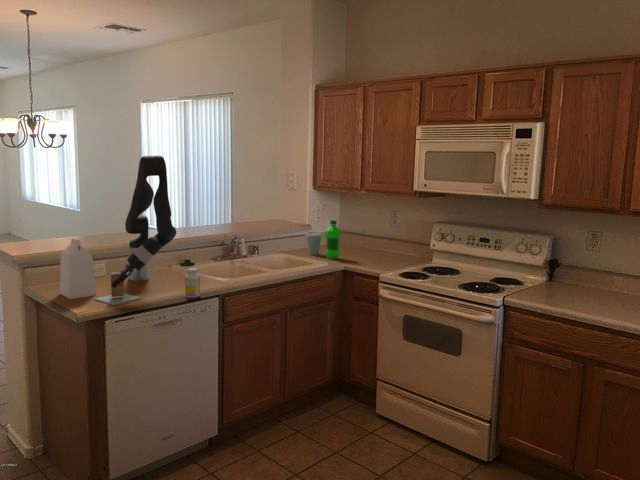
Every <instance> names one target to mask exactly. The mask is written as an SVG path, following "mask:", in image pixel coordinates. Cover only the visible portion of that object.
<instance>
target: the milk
mask: <svg viewBox="0 0 640 480" xmlns="http://www.w3.org/2000/svg"><path fill="white" fill-rule="evenodd" d="M70 242H71V243H70V244H69V245H68V246H67V247H65V249H63V251H62V252H61V253H60V259H59V260H60V261H59V262H60V264H59V265H60V266H59V268H60V269H59V270H60V271H59V282H60V283H59V294H60V295H62V296H63V297H65V298H67V299H69V300H72V299H80V298H85V297H92V296H96V293H97V292H96V282H95V271H94V270H95V269H94V260H93V259H94V258H93V257H94V256H93V255H92V253H91V252H90V251H88V250H87V247H85V246H84V245H83V244H82V243H81V239H79V238H77V237H71V241H70Z"/></svg>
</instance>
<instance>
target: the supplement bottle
mask: <svg viewBox="0 0 640 480" xmlns="http://www.w3.org/2000/svg"><path fill="white" fill-rule="evenodd" d="M186 273H187V274H186V275H184V295H185V296H184V297H187V298H191V299H192V298H193V299H194V298H198V297H200V295H201V289H200V287H201V286H200V285H201V282H200V280H201V279H200V277H201V276H200V274H199V273H198V268H197V267H195V268H194V267H190V268H186Z"/></svg>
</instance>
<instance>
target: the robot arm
mask: <svg viewBox="0 0 640 480" xmlns="http://www.w3.org/2000/svg"><path fill="white" fill-rule="evenodd" d="M155 176H156V177H157V176H158V181H159V182H158V186H157V189H156V192H155V193H154V189H153V187H152V186H151V184H150V183H149V182H148V180H147V179H148V177H155ZM169 199H170V198H169V189H168V173H167V163H166V161H165V158H164V156H162V155H143V156H141V158H140V160H139V163H138V171H137V179H136V183H135V187H134V190H133V195H132V198H131V202H130V203H131V204H130V208H129V211H128V213H127V216H126V219H125V223H124V225H125V226H124V227H125V231H126V233H127V234H129V235H137V234H139V236H137V237H136V238H134V239H132V240H130V241H129V242H128V245H129V246H128V247H129V248H128V249H129V250H128V251H129V256H128V257H127V259H126V260H127V262H128V263H127V264H125V266H124V267H123V268H122V269H120V271H119V272H121V273H120V276H119V277H117V279H116V280H115V281H114V282H113V283H112V284H111V283H110V287H111V286H112V287H113V288H115V287H116V286H117V285H118V284H119V283H120V282H124V281H125V280H126V279H127V278H128V280H130V281H133V282H143V281H149V279H150V276H149V275H150V274H149V262H150V261H151V260H152V259H153V257H154V256H155V255H156V254H157V253H158V252H159V251H160V250H161V249H162V248H164V247H165V246H166V245H168V244H169V243H170V242H172V241H173V240H174V238H175V237H177V236H176V235H177V230H176V229H177V228H175V226H174V225H173V223H172V219H171V217H172V209H171V205H170V200H169ZM152 204H153V209H154V213H155V218H156V219H155V223H156V231H157V233H156V234H155V235H154V236H152V237H151V236H150V237H149V229H150V228H149V225H150V224H149V219H148V216H146V215H142V214H143V213H144V212H146V211H147V210H148V209H149V208H150V207H151V205H152ZM122 276H123V279H122V278H121V277H122Z"/></svg>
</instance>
